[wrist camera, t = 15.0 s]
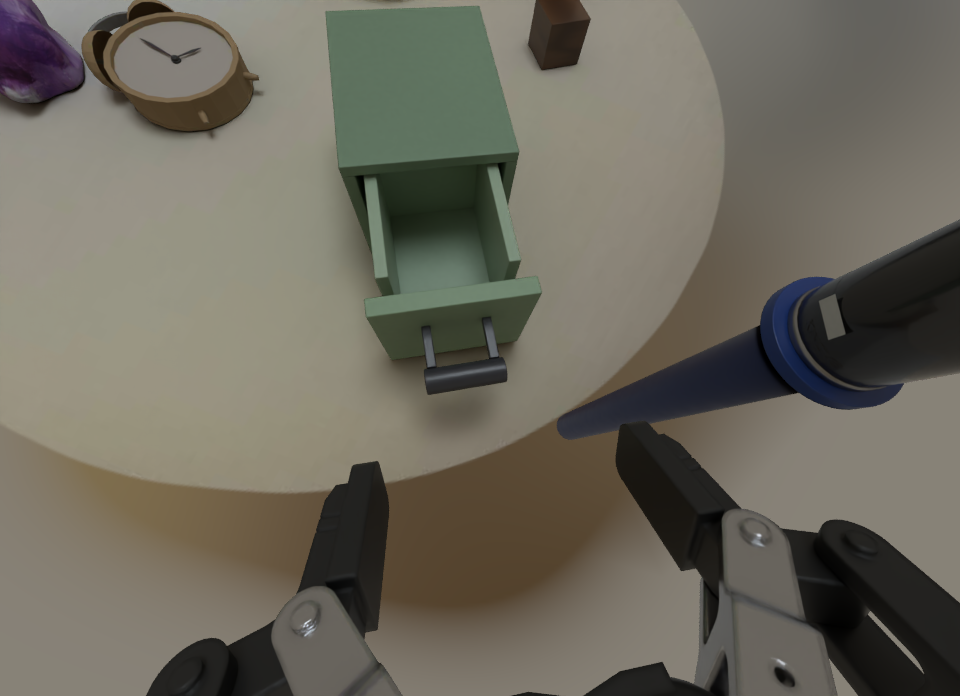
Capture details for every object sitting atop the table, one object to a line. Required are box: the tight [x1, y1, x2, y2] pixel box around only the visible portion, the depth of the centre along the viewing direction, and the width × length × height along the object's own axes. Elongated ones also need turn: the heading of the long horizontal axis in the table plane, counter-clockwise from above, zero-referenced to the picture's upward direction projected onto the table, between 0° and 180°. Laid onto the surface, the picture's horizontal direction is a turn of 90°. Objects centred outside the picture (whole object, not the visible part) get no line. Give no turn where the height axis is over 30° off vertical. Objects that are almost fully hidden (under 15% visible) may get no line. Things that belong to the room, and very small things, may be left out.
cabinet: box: [326, 6, 519, 253], centre depth 30 cm, size 15×12×11 cm
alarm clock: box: [82, 0, 259, 131], centre depth 35 cm, size 11×5×15 cm
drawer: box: [364, 163, 542, 395], centre depth 26 cm, size 18×10×9 cm, turn 10°
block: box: [528, 0, 591, 70], centre depth 40 cm, size 4×4×4 cm
